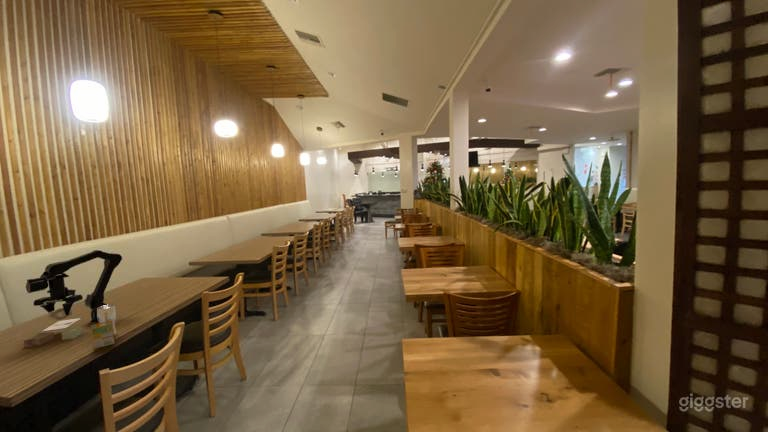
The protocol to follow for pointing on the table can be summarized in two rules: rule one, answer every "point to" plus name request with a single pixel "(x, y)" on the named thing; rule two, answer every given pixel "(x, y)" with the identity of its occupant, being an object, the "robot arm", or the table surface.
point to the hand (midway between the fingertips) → (60, 315)
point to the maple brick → (58, 314)
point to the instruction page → (61, 324)
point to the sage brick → (71, 333)
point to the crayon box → (103, 334)
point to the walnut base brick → (39, 339)
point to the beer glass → (107, 315)
